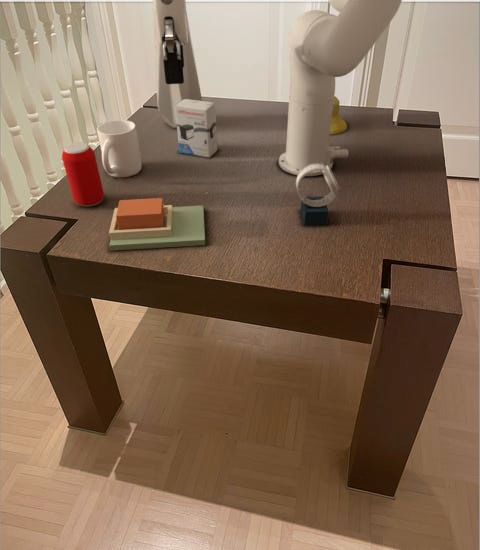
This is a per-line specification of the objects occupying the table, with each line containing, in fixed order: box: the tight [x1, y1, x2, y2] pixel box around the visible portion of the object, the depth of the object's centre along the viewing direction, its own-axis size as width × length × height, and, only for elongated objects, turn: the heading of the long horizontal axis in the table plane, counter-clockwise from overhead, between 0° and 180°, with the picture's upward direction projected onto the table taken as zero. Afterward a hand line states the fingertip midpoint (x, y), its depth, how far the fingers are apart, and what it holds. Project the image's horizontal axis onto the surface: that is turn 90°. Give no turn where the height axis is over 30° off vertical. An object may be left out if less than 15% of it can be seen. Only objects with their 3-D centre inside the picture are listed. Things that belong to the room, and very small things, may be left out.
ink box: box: [175, 99, 218, 158], centre depth 110 cm, size 8×5×12 cm, turn 68°
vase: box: [153, 4, 203, 129], centre depth 117 cm, size 12×12×33 cm
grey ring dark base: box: [295, 163, 340, 227], centre depth 86 cm, size 6×8×11 cm
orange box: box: [116, 197, 165, 230], centre depth 85 cm, size 8×6×4 cm
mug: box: [96, 119, 143, 179], centre depth 101 cm, size 12×8×10 cm
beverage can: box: [61, 142, 105, 208], centre depth 91 cm, size 6×6×12 cm
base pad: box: [108, 204, 206, 252], centre depth 86 cm, size 17×12×3 cm
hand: (175, 75), depth 85 cm, fingers open, 9 cm apart
